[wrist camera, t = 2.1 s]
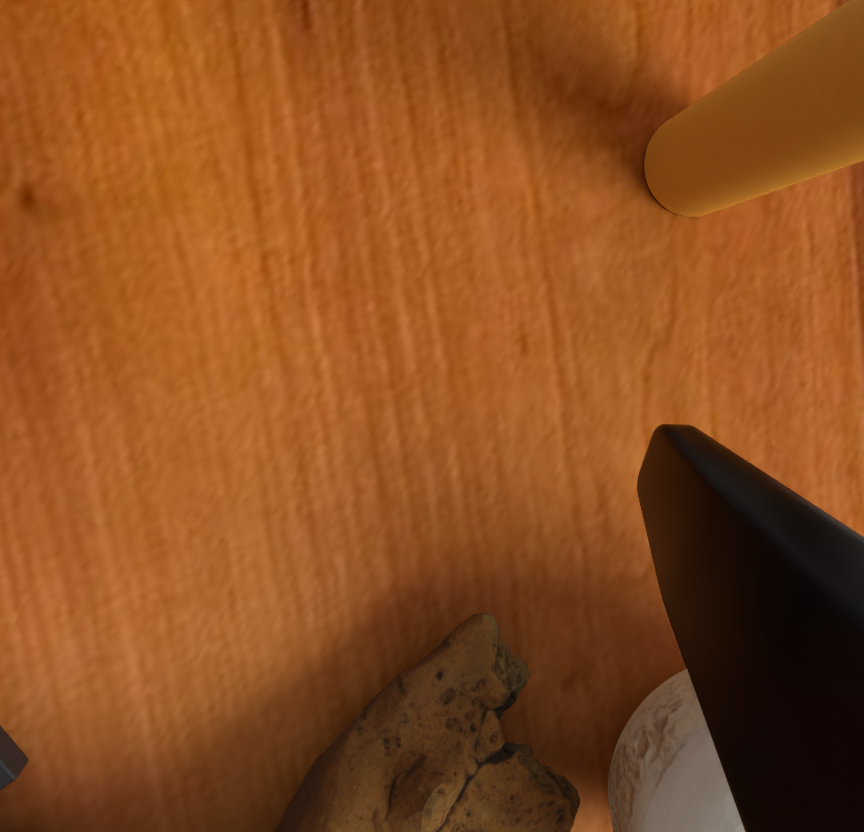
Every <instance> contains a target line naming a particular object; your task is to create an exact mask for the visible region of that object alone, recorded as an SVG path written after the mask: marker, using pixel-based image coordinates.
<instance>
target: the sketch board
mask: <svg viewBox="0 0 864 832" xmlns="http://www.w3.org/2000/svg"><path fill="white" fill-rule="evenodd" d="M27 762H28V759H27V757H26V756H25V755H24V754H23V753H22V751H21V750H20V749H19V748H18V747H17V745H16V744H15V743H14V742H13V741H12V739H11V738H10V737H9V736H8V735H7V733H6V732H5V731H4V730H3V729H2V727H1V726H0V790H1V789H2V788H4V787H5V786H7V785H8V784H10V783H11V782H13V781H14V780H15V779H16V778H17V776H18V775H19V774H20V772H21V771H22V769H23V768H24V767H25V765H26V764H27Z"/></svg>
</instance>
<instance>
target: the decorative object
mask: <svg viewBox="0 0 864 832" xmlns="http://www.w3.org/2000/svg"><path fill="white" fill-rule="evenodd" d="M608 796H609V809H610V814H611V820H612V826H613V830H614V832H745V830H744V827H743V824H742V821H741V819H740V816H739V813H738V810H737V807H736V805H735V802H734V799H733V796H732V793H731V791H730V788H729V785H728V782H727V780H726V777H725V774H724V771H723V768H722V766H721V763H720V760H719V757H718V754H717V752H716V749H715V746H714V743H713V740H712V738H711V735H710V732H709V729H708V726H707V724H706V721H705V718H704V715H703V712H702V710H701V707H700V704H699V701H698V698H697V696H696V693H695V690H694V687H693V684H692V682H691V679H690V676H689V673H688V670H687V669H685V670H683V671H681V672H679V673H678V674H676V675H674V676H672V677H671V678H669V679H667V680H666V681H665V682H663V683H662V684H661V685H660V686H659V687H657V688H656V689H655V690H654V691H652V692H651V693H650V694H649V695H648V696H647V697H646V698H645V699H644V701H643V702H642V703H641V704H640V705H639V707H638V708H637V709H636V710H635V712H634V713H633V715H632V716H631V717H630V719H629V720H628V722H627V724H626V725H625V727H624V729H623V731H622V733H621V735H620V737H619V740H618V742H617V745H616V748H615V750H614V753H613V757H612V761H611V766H610V770H609V778H608Z"/></svg>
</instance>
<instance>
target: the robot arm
mask: <svg viewBox="0 0 864 832" xmlns="http://www.w3.org/2000/svg"><path fill="white" fill-rule="evenodd" d="M637 490H638V497H639V501H640V506H641V510H642V514H643V519H644V523H645V527H646V532H647V536H648V540H649V545H650V549H651V553H652V558H653V562H654V566H655V571H656V575H657V579H658V584H659V587H660V591H661V595H662V599H663V602H664V605H665V608H666V611H667V614H668V617H669V620H670V623H671V626H672V629H673V631H674V634H675V637H676V640H677V643H678V645H679V648H680V651H681V654H682V656H683V659H684V662H685V665H686V668H687V670H688V673H689V676H690V679H691V682H692V684H693V687H694V690H695V693H696V696H697V698H698V701H699V704H700V707H701V710H702V712H703V715H704V718H705V721H706V724H707V726H708V729H709V732H710V735H711V738H712V740H713V743H714V746H715V749H716V752H717V754H718V757H719V760H720V763H721V766H722V768H723V771H724V774H725V777H726V780H727V782H728V785H729V788H730V791H731V793H732V796H733V799H734V802H735V805H736V807H737V810H738V813H739V816H740V819H741V821H742V824H743V827H744V830H745V832H864V537H863V536H861V535H860V534H858V533H857V532H855V531H854V530H852V529H850V528H849V527H847V526H846V525H844V524H843V523H841V522H840V521H838V520H837V519H835V518H834V517H832V516H830V515H829V514H827V513H826V512H824V511H823V510H821V509H820V508H818V507H817V506H815V505H814V504H812V503H811V502H809V501H807V500H806V499H804V498H803V497H801V496H800V495H798V494H797V493H795V492H794V491H792V490H791V489H789V488H787V487H786V486H784V485H783V484H781V483H780V482H778V481H777V480H775V479H774V478H772V477H771V476H769V475H767V474H766V473H764V472H763V471H761V470H760V469H758V468H757V467H755V466H754V465H752V464H751V463H749V462H748V461H746V460H744V459H743V458H741V457H740V456H738V455H737V454H735V453H734V452H732V451H731V450H729V449H728V448H726V447H725V446H723V445H721V444H720V443H718V442H717V441H715V440H714V439H712V438H711V437H709V436H708V435H706V434H705V433H703V432H702V431H700V430H698V429H697V428H695V427H694V426H691V425H676V424H662V425H660V426H658V427H657V428H656V429H655V431H654V432H653V434H652V437H651V440H650V443H649V446H648V449H647V452H646V454H645V457H644V460H643V463H642V466H641V469H640V472H639V476H638V481H637Z"/></svg>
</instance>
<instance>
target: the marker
mask: <svg viewBox="0 0 864 832" xmlns="http://www.w3.org/2000/svg"><path fill="white" fill-rule="evenodd" d="M861 161H864V0H849V1H848V2H846V3H845V4H843V5H842V6H840V7H839V8H837V9H836V10H834V11H833V12H831V13H830V14H828V15H827V16H825V17H824V18H822V19H821V20H819V21H818V22H816V23H815V24H813V25H812V26H810V27H809V28H807V29H805V30H804V31H802V32H801V33H799V34H798V35H796V36H795V37H793V38H792V39H790V40H789V41H787V42H786V43H784V44H783V45H781V46H780V47H778V48H777V49H775V50H774V51H772V52H771V53H769V54H768V55H766V56H765V57H763V58H761V59H760V60H758V61H757V62H755V63H754V64H752V65H751V66H749V67H748V68H746V69H745V70H743V71H742V72H740V73H739V74H737V75H736V76H734V77H733V78H731V79H730V80H728V81H727V82H725V83H724V84H722V85H721V86H719V87H717V88H716V89H714V90H713V91H711V92H710V93H708V94H707V95H705V96H704V97H702V98H701V99H699V100H698V101H696V102H695V103H693V104H692V105H690V106H689V107H687V108H686V109H684V110H683V111H681V112H680V113H678V114H677V115H675V116H673V117H672V118H670V119H669V120H667V121H666V122H665V123H663V124H662V125H661V126H660V127H659V128H658V129H657V130H656V132H655V133H654V134H653V136H652V138H651V139H650V141H649V144H648V146H647V150H646V153H645V160H644V170H645V177H646V181H647V184H648V187H649V189H650V191H651V193H652V194H653V196H654V197H655V199H656V200H657V201H658V202H659V203H660V204H661V205H662V206H663V207H664V208H666V209H667V210H669V211H671V212H673V213H675V214H678V215H681V216H686V217H697V216H703V215H706V214H709V213H712V212H715V211H718V210H721V209H724V208H727V207H730V206H733V205H735V204H738V203H741V202H744V201H747V200H750V199H753V198H756V197H759V196H762V195H765V194H768V193H770V192H773V191H776V190H779V189H782V188H785V187H788V186H791V185H794V184H797V183H800V182H803V181H805V180H808V179H811V178H814V177H817V176H820V175H823V174H826V173H829V172H832V171H835V170H837V169H840V168H843V167H846V166H849V165H852V164H855V163H858V162H861Z"/></svg>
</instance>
